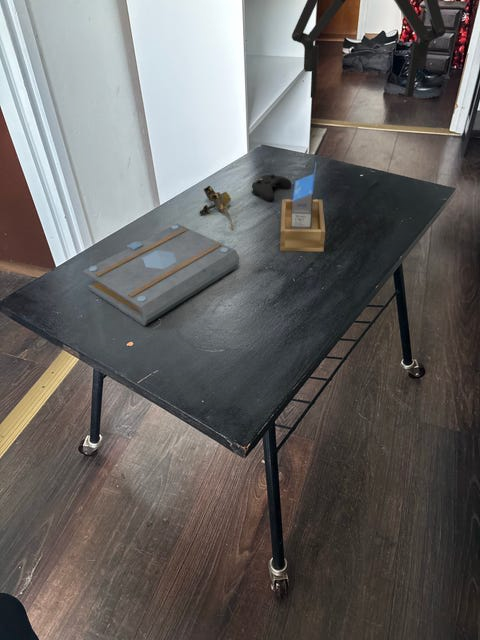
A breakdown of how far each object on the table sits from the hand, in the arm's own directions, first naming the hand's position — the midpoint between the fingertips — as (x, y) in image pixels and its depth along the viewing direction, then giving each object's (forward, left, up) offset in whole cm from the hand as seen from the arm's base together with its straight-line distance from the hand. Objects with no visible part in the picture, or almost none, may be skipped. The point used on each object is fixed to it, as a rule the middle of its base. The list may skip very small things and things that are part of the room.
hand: (360, 96), depth 70 cm
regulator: (+24, -16, -28) cm, 40 cm away
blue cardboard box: (+7, -9, -27) cm, 29 cm away
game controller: (+14, -27, -28) cm, 42 cm away
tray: (+7, -8, -28) cm, 30 cm away
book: (+31, +9, -28) cm, 43 cm away
